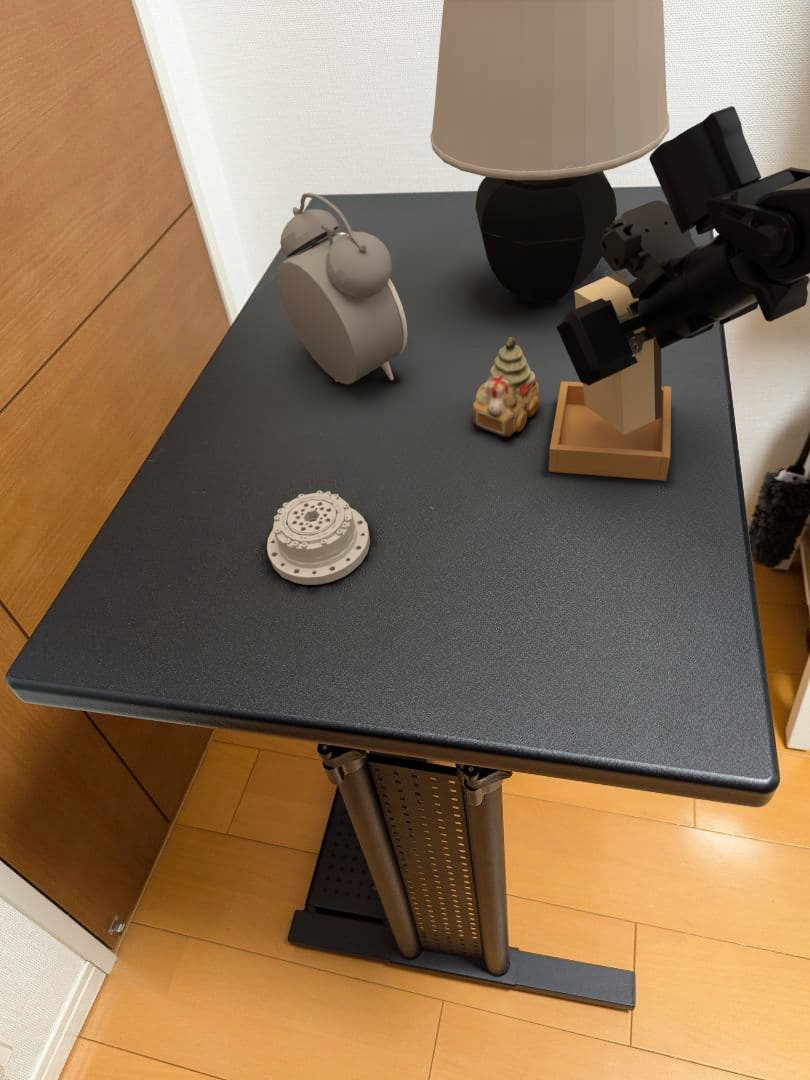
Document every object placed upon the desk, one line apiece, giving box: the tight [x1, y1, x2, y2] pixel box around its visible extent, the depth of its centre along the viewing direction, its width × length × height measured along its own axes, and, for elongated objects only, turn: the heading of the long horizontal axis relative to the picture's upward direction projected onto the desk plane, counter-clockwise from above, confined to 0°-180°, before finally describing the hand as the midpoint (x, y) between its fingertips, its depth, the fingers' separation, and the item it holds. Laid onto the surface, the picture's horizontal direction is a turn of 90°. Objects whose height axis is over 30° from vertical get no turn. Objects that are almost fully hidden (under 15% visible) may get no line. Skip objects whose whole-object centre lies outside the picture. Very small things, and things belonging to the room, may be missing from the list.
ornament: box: [471, 336, 540, 438], centre depth 83 cm, size 8×6×10 cm
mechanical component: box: [266, 490, 371, 586], centre depth 74 cm, size 10×4×10 cm
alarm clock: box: [277, 192, 409, 385], centre depth 88 cm, size 16×9×22 cm, turn 37°
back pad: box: [573, 272, 663, 435], centre depth 74 cm, size 4×7×13 cm, turn 24°
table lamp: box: [429, 0, 670, 304], centre depth 89 cm, size 27×27×40 cm
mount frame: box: [548, 380, 672, 482], centre depth 81 cm, size 12×12×3 cm
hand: (610, 343), depth 75 cm, fingers closed on back pad, 5 cm apart
